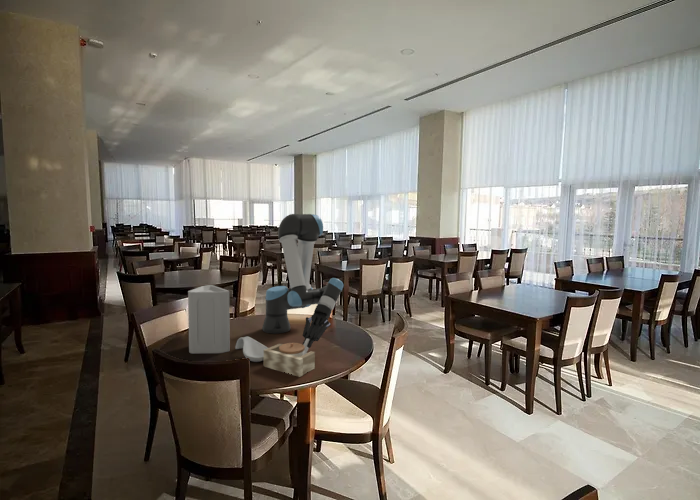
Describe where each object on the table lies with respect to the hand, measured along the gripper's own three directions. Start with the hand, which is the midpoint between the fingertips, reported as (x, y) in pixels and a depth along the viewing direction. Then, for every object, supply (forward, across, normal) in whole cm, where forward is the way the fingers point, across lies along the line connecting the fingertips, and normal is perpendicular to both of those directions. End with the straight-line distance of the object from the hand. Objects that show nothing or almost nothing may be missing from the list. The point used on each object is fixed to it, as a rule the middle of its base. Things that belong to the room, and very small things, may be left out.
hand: (302, 353), depth 166 cm
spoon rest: (+8, +23, +3) cm, 25 cm away
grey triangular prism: (+12, +46, +7) cm, 48 cm away
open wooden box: (+8, 0, +3) cm, 9 cm away
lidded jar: (+7, +1, +2) cm, 7 cm away
